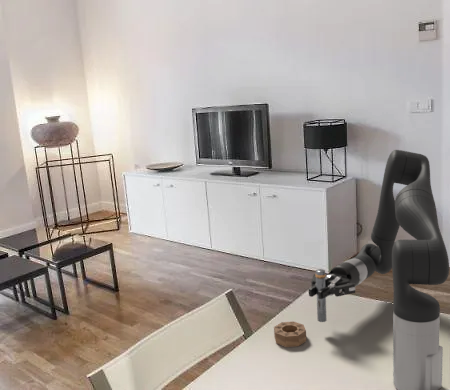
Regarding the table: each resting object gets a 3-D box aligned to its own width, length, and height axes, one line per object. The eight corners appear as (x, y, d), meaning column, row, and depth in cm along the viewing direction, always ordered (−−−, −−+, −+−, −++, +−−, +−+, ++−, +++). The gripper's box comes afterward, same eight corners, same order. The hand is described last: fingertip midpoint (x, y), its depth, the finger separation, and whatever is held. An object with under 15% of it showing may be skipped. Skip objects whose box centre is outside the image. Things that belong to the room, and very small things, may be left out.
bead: (311, 337, 131) (311, 327, 131) (293, 350, 126) (293, 339, 125) (287, 328, 137) (286, 319, 136) (269, 340, 131) (268, 330, 131)
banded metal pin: (328, 319, 132) (327, 270, 130) (323, 323, 130) (321, 273, 128) (320, 317, 134) (318, 268, 131) (315, 320, 132) (313, 271, 130)
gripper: (327, 257, 145) (292, 275, 133) (371, 266, 135) (337, 286, 123) (328, 281, 146) (293, 301, 134) (371, 292, 137) (338, 314, 124)
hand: (314, 294), depth 129 cm, fingers closed on banded metal pin, 2 cm apart
